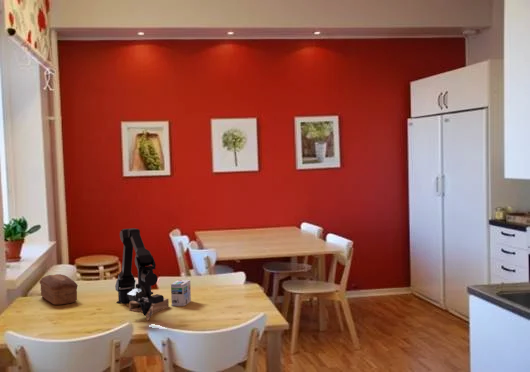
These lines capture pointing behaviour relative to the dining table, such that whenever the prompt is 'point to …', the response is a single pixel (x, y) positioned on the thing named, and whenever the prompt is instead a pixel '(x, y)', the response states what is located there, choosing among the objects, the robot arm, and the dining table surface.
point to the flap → (150, 313)
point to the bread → (58, 289)
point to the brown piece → (157, 307)
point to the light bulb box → (180, 292)
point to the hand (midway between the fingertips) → (145, 315)
